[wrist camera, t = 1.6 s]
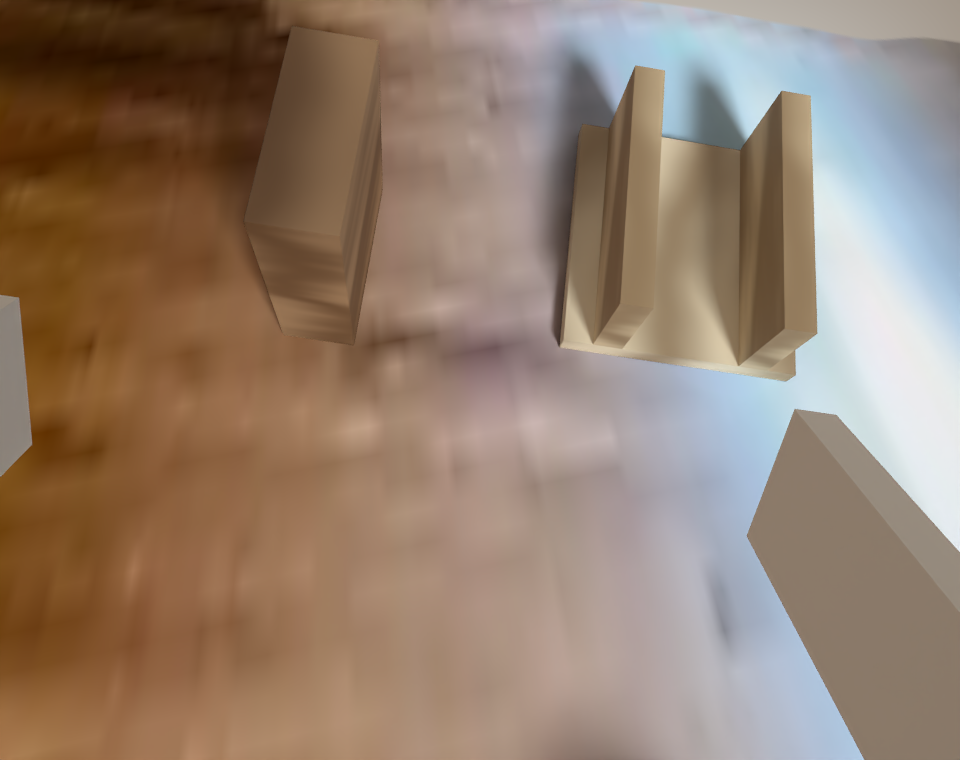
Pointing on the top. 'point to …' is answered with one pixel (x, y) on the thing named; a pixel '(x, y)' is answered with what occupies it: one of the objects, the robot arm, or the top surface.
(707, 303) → the rack
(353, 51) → the tile
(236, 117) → the top surface
